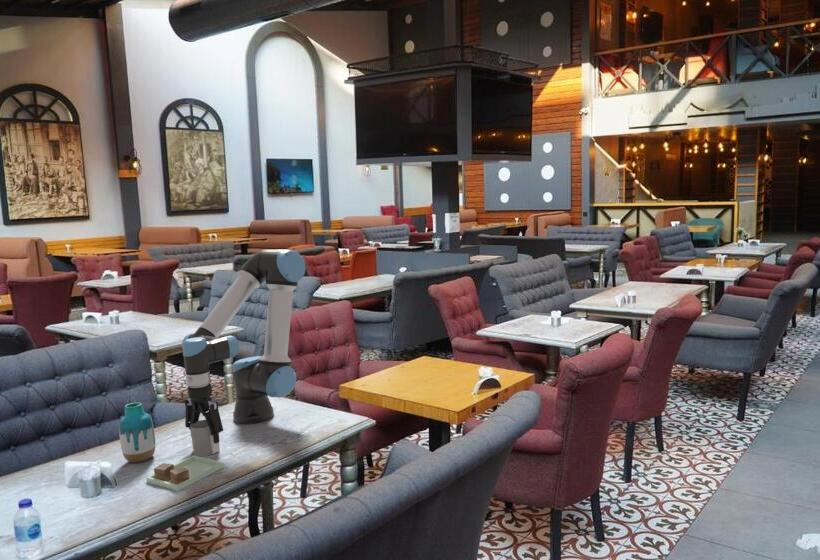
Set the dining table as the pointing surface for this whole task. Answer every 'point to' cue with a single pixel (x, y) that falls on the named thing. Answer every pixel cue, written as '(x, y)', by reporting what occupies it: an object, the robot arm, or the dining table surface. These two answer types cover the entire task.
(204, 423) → the cup
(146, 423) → the vase
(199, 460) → the tray
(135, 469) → the dining table surface
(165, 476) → the block
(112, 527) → the dining table surface
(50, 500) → the dining table surface
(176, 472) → the block
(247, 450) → the dining table surface
